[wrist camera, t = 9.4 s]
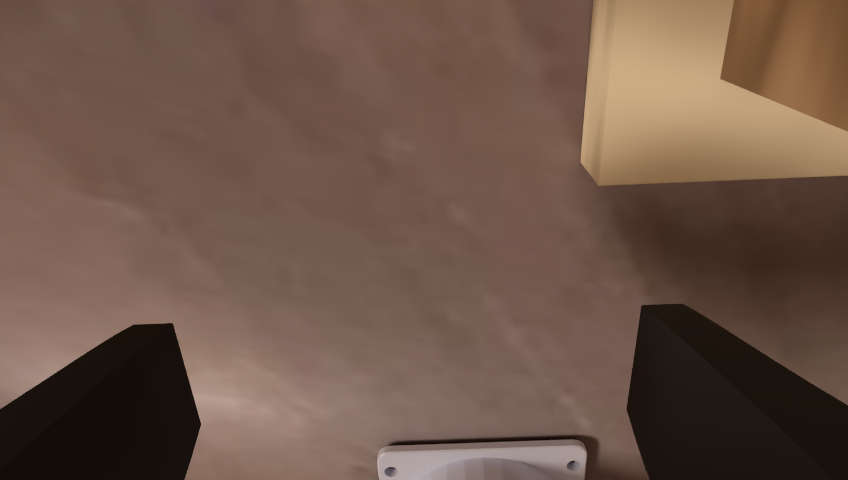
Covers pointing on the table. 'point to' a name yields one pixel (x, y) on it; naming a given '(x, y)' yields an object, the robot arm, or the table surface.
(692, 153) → the birch base
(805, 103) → the walnut block
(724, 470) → the robot arm
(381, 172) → the table surface
